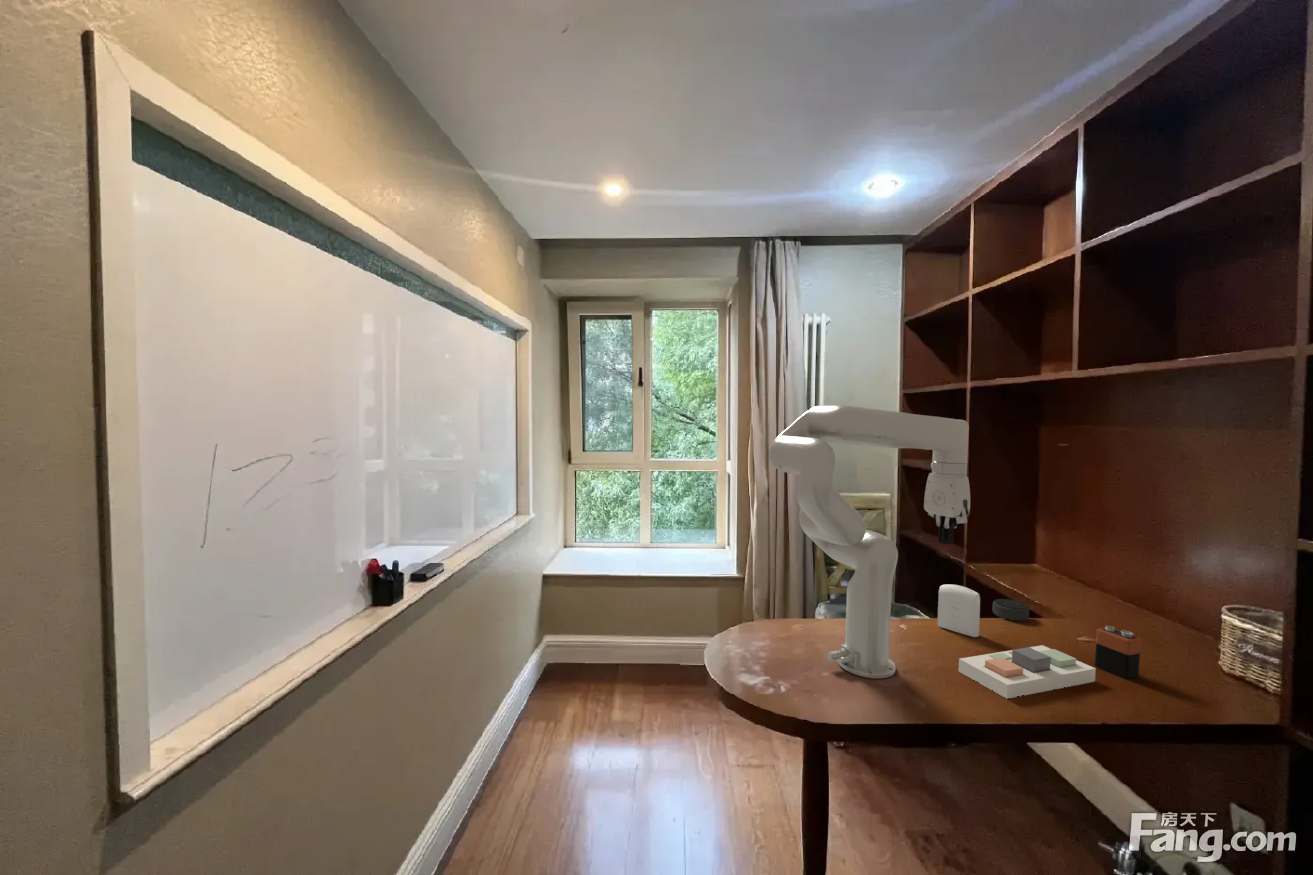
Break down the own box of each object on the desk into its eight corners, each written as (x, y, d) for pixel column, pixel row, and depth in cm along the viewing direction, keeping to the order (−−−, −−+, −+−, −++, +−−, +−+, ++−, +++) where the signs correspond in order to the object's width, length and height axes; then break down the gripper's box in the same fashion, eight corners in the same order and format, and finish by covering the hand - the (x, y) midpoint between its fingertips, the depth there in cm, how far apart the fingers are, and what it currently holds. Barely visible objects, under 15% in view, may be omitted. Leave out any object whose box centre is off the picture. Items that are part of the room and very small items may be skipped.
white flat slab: (1006, 698, 111) (1007, 683, 111) (958, 671, 122) (959, 657, 122) (1094, 681, 119) (1095, 667, 118) (1041, 657, 130) (1042, 644, 130)
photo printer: (934, 626, 148) (936, 582, 147) (941, 622, 150) (943, 579, 150) (975, 639, 140) (977, 593, 139) (981, 635, 142) (983, 589, 142)
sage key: (1059, 675, 119) (1060, 661, 118) (1037, 664, 123) (1038, 651, 123) (1075, 672, 120) (1076, 658, 120) (1053, 662, 125) (1053, 648, 125)
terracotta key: (1005, 685, 114) (1005, 671, 114) (984, 674, 119) (985, 660, 118) (1022, 682, 115) (1023, 668, 115) (1001, 671, 120) (1002, 657, 120)
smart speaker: (1036, 622, 152) (1037, 608, 152) (1006, 623, 151) (1007, 609, 151) (1013, 610, 161) (1014, 597, 161) (985, 611, 160) (986, 598, 160)
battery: (1127, 680, 120) (1130, 636, 119) (1093, 666, 126) (1096, 624, 125) (1139, 677, 121) (1142, 634, 120) (1105, 663, 127) (1108, 622, 127)
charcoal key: (1033, 674, 116) (1033, 659, 116) (1011, 663, 121) (1012, 649, 121) (1049, 671, 118) (1050, 657, 118) (1028, 660, 122) (1028, 647, 122)
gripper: (913, 466, 137) (910, 536, 138) (963, 473, 122) (959, 552, 123) (936, 465, 139) (933, 535, 140) (987, 472, 125) (983, 550, 126)
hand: (945, 542), depth 132 cm, fingers closed
